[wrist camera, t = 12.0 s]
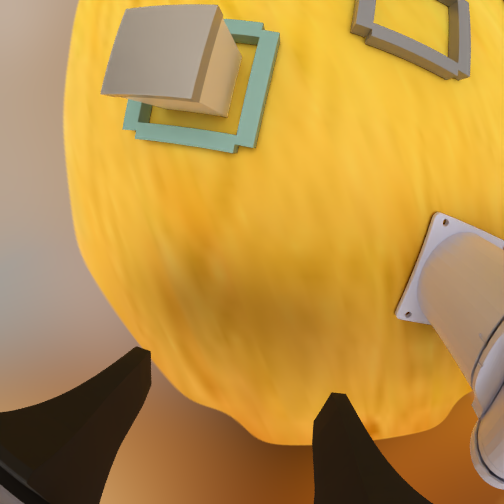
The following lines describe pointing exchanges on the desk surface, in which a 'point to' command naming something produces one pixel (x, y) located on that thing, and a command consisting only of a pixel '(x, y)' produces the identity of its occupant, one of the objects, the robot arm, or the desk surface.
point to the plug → (174, 59)
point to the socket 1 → (252, 106)
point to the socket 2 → (414, 50)
